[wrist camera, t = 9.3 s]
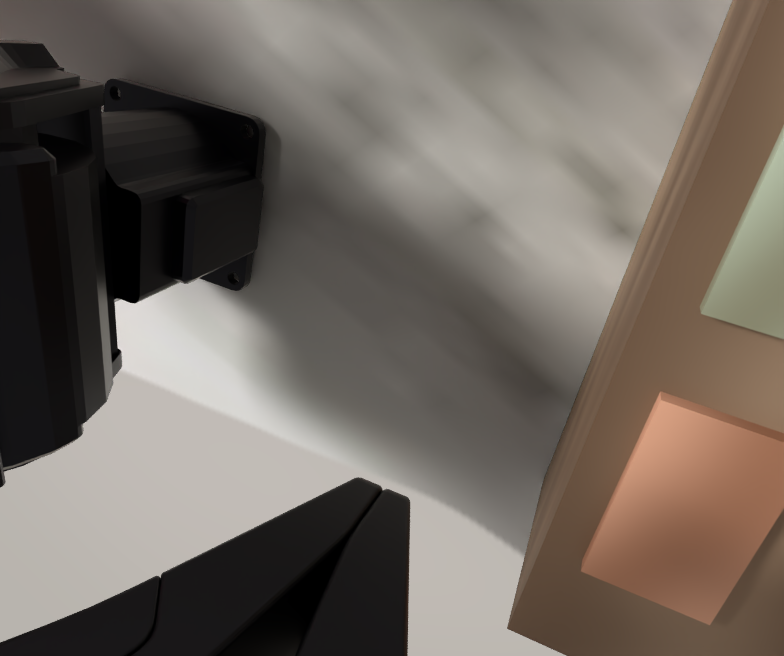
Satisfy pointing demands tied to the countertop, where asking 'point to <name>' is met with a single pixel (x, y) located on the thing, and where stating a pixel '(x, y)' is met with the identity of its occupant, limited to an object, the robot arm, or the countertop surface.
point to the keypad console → (683, 400)
